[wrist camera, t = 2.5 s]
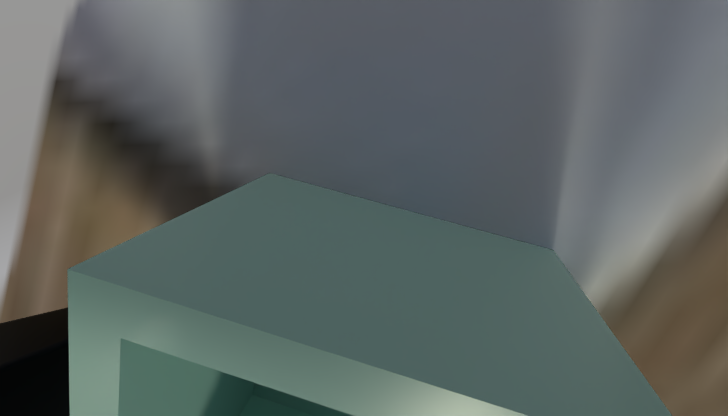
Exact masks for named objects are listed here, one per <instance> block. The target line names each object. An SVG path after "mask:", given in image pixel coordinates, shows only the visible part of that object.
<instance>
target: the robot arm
mask: <svg viewBox="0 0 728 416" xmlns="http://www.w3.org/2000/svg"><path fill="white" fill-rule="evenodd" d="M0 416H70V405H69V334H68V308H64V309H60V310H55V311H51V312H47V313H43V314H38V315H34V316H30V317H26V318H21V319H17V320H13V321H8V322H4V323H0Z"/></svg>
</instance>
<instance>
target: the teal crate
mask: <svg viewBox="0 0 728 416" xmlns="http://www.w3.org/2000/svg"><path fill="white" fill-rule="evenodd" d="M68 334H69V405H70V416H672V415H671V413H670V412H669V411H668V409H667V408H666V406H665V405H664V404H663V402H662V401H661V400H660V398H659V397H658V395H657V394H656V393H655V391H654V390H653V388H652V387H651V386H650V384H649V383H648V381H647V380H646V379H645V377H644V376H643V374H642V373H641V372H640V370H639V369H638V368H637V366H636V365H635V363H634V362H633V361H632V359H631V358H630V356H629V355H628V354H627V352H626V351H625V349H624V348H623V347H622V345H621V344H620V342H619V341H618V340H617V338H616V337H615V336H614V334H613V333H612V331H611V330H610V329H609V327H608V326H607V324H606V323H605V322H604V320H603V319H602V317H601V316H600V315H599V313H598V312H597V310H596V309H595V308H594V306H593V305H592V304H591V302H590V301H589V299H588V298H587V297H586V295H585V294H584V292H583V291H582V290H581V288H580V287H579V285H578V284H577V283H576V281H575V280H574V278H573V277H572V276H571V274H570V273H569V272H568V270H567V269H566V267H565V266H564V265H563V263H562V262H561V260H560V259H559V258H558V256H557V255H556V253H555V252H554V251H553V250H551V249H547V248H544V247H540V246H536V245H533V244H529V243H525V242H522V241H518V240H514V239H511V238H507V237H503V236H499V235H496V234H492V233H488V232H485V231H481V230H477V229H474V228H470V227H466V226H463V225H459V224H455V223H452V222H448V221H444V220H441V219H437V218H433V217H430V216H426V215H422V214H419V213H415V212H411V211H407V210H404V209H400V208H396V207H393V206H389V205H385V204H382V203H378V202H374V201H371V200H367V199H363V198H360V197H356V196H352V195H349V194H345V193H341V192H338V191H334V190H330V189H327V188H323V187H319V186H316V185H312V184H308V183H304V182H301V181H297V180H293V179H290V178H286V177H282V176H279V175H275V174H271V173H269V174H267V175H264V176H262V177H260V178H258V179H256V180H254V181H252V182H250V183H248V184H246V185H243V186H241V187H239V188H237V189H235V190H233V191H231V192H229V193H227V194H225V195H222V196H220V197H218V198H216V199H214V200H212V201H210V202H208V203H206V204H204V205H201V206H199V207H197V208H195V209H193V210H191V211H189V212H187V213H185V214H182V215H180V216H178V217H176V218H174V219H172V220H170V221H168V222H166V223H164V224H161V225H159V226H157V227H155V228H153V229H151V230H149V231H147V232H145V233H143V234H140V235H138V236H136V237H134V238H132V239H130V240H128V241H126V242H124V243H122V244H119V245H117V246H115V247H113V248H111V249H109V250H107V251H105V252H103V253H101V254H98V255H96V256H94V257H92V258H90V259H88V260H86V261H84V262H82V263H80V264H77V265H75V266H73V267H71V268H69V269H68Z"/></svg>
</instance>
